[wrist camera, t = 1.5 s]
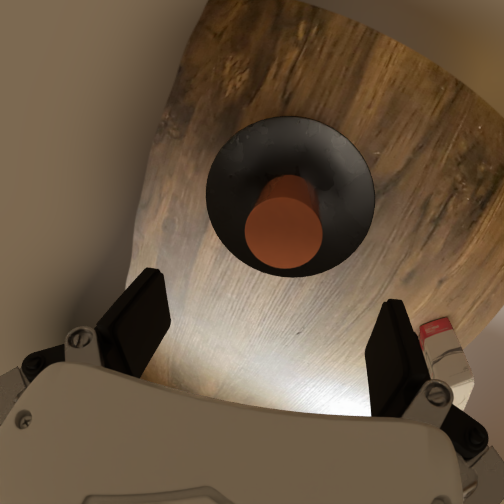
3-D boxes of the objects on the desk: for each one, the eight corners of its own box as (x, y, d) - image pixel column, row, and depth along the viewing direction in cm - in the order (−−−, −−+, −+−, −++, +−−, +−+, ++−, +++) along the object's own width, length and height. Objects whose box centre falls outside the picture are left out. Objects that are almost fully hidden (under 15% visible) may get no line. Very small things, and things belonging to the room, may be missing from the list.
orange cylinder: (261, 171, 22) (245, 193, 17) (322, 178, 21) (327, 202, 16) (258, 227, 24) (243, 264, 19) (315, 234, 23) (316, 273, 18)
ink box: (419, 324, 34) (440, 391, 24) (449, 315, 32) (476, 378, 22) (417, 361, 37) (432, 422, 27) (444, 353, 36) (463, 412, 26)
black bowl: (228, 111, 26) (204, 113, 20) (368, 124, 24) (387, 129, 18) (226, 236, 33) (208, 267, 27) (348, 250, 31) (356, 285, 25)
